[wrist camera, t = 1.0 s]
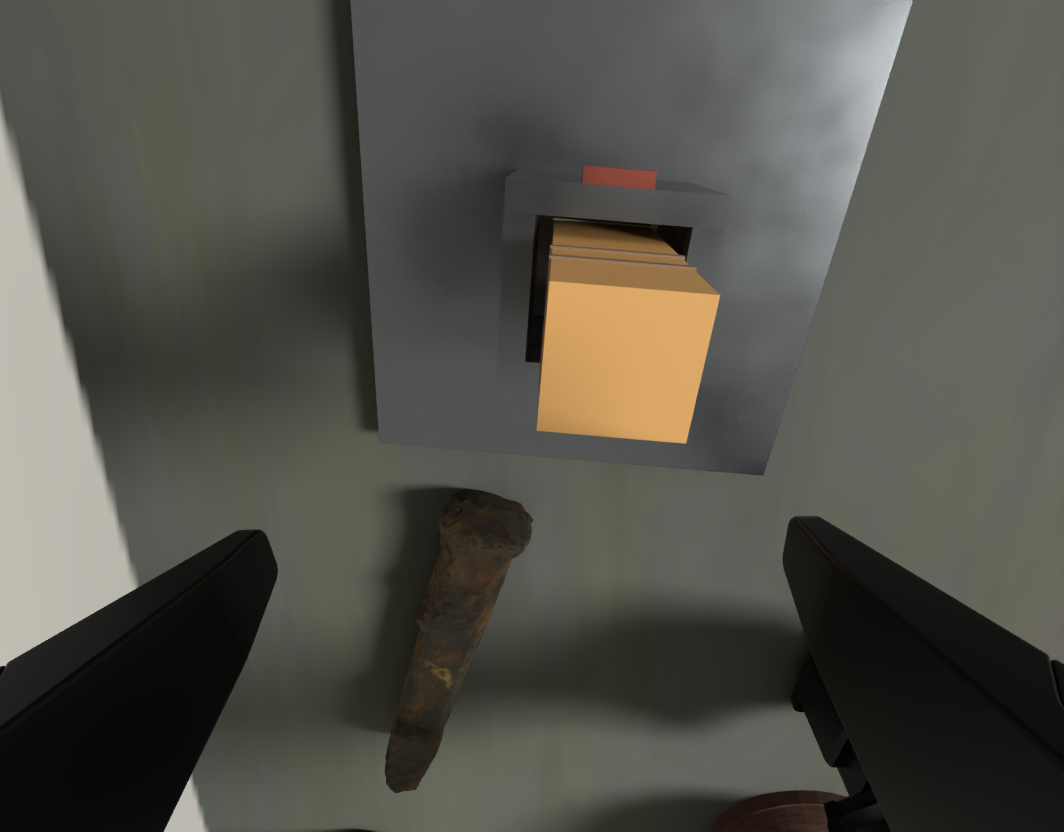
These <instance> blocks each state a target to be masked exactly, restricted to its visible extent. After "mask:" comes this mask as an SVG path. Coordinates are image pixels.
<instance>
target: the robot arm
mask: <svg viewBox="0 0 1064 832" xmlns="http://www.w3.org/2000/svg"><path fill="white" fill-rule="evenodd" d="M783 567H784V571H785V574H786V577H787V580H788V584H789V587H790V590H791V593H792V596H793V599H794V602H795V605H796V608H797V612H798V615H799V618H800V621H801V624H802V627H803V630H804V633H805V636H806V639H807V642H808V645H809V648H810V651H811V654H810V656H809V658H808V660H807V662H806V664H805V666H804V669H803V671H802V673H801V676H800V678H799V680H798V682H797V685H796V687H795V690H794V692H793V695H792V697H791V703H792V706H793V708H794V710H796V711H798V712H805V715H806V717H807V719H808V722H809V724H810V726H811V729H812V731H813V733H814V736H815V738H816V741H817V743H818V745H819V748H820V750H821V752H822V755H823V757H824V759H825V761H826V762H827V764H828V765H829V766H830V767H837V769H838V771H839V774H840V776H841V778H842V780H843V783H844V785H845V787H846V789H847V792H848V794H849V796H848V797H845V798H842V799H840V800H837V801H836V800H835V799H833V800H830V801H827V802H825V803H823V805H824V809H825V813H826V816H827V820H828V823H827V827H828V831H829V832H1064V664H1063V663H1061V662H1059V661H1058V660H1052V661H1051V658H1050V656H1049V655H1047V654H1046V653H1044V652H1042V651H1041V650H1039V649H1038V648H1036V647H1034V646H1033V645H1031V644H1029V643H1028V642H1026V641H1024V640H1023V639H1021V638H1019V637H1018V636H1016V635H1014V634H1013V633H1011V632H1009V631H1008V630H1006V629H1004V628H1003V627H1001V626H999V625H998V624H996V623H994V622H993V621H991V620H990V619H988V618H986V617H985V616H983V615H981V614H980V613H978V612H976V611H975V610H973V609H971V608H970V607H968V606H966V605H965V604H963V603H961V602H960V601H958V600H956V599H955V598H953V597H951V596H950V595H948V594H946V593H945V592H943V591H941V590H940V589H938V588H937V587H935V586H933V585H932V584H930V583H928V582H927V581H925V580H923V579H922V578H920V577H918V576H917V575H915V574H913V573H912V572H910V571H908V570H907V569H905V568H903V567H902V566H900V565H898V564H897V563H895V562H893V561H892V560H890V559H889V558H887V557H885V556H884V555H882V554H880V553H879V552H877V551H875V550H874V549H872V548H870V547H869V546H867V545H865V544H864V543H862V542H860V541H859V540H857V539H855V538H854V537H852V536H850V535H849V534H847V533H845V532H844V531H842V530H841V529H839V528H837V527H836V526H834V525H832V524H831V523H829V522H827V521H826V520H824V519H822V518H820V517H818V516H795V517H793V518H792V519H791V520H790V521H789V524H788V529H787V535H786V540H785V545H784V551H783ZM277 574H278V568H277V563H276V560H275V557H274V555H273V552H272V549H271V546H270V543H269V541H268V538H267V536H266V534H265V533H264V532H263V531H261V530H239V531H236V532H234V533H232V534H231V535H229V536H227V537H225V538H224V539H222V540H220V541H218V542H217V543H215V544H213V545H211V546H210V547H208V548H206V549H204V550H203V551H201V552H199V553H198V554H196V555H194V556H192V557H191V558H189V559H187V560H185V561H184V562H182V563H180V564H178V565H177V566H175V567H173V568H171V569H170V570H168V571H166V572H164V573H163V574H161V575H159V576H157V577H156V578H154V579H152V580H151V581H149V582H147V583H145V584H144V585H142V586H140V587H138V588H137V589H135V590H133V591H131V592H130V593H128V594H126V595H124V596H123V597H121V598H119V599H118V600H116V601H114V602H112V603H111V604H109V605H107V606H105V607H104V608H102V609H100V610H98V611H97V612H95V613H93V614H91V615H90V616H88V617H86V618H85V619H83V620H81V621H79V622H78V623H76V624H74V625H72V626H70V627H69V628H67V629H65V630H64V631H62V632H60V633H58V634H57V635H55V636H53V637H52V638H50V639H48V640H46V641H45V642H43V643H41V644H39V645H37V646H36V647H34V648H32V649H31V650H29V651H27V652H25V653H23V654H22V655H20V656H19V657H17V658H15V659H13V660H11V661H10V662H8V663H7V665H6V666H1V667H0V832H164V830H165V828H166V826H167V824H168V822H169V819H170V817H171V815H172V813H173V811H174V809H175V807H176V805H177V803H178V801H179V799H180V797H181V795H182V793H183V790H184V788H185V786H186V784H187V782H188V780H189V778H190V776H191V774H192V772H193V770H194V768H195V766H196V764H197V762H198V760H199V758H200V756H201V753H202V751H203V749H204V747H205V745H206V743H207V741H208V739H209V737H210V735H211V733H212V731H213V729H214V727H215V725H216V723H217V720H218V718H219V716H220V714H221V712H222V710H223V708H224V706H225V704H226V702H227V700H228V698H229V696H230V694H231V692H232V690H233V687H234V685H235V683H236V681H237V679H238V677H239V675H240V673H241V671H242V669H243V666H244V664H245V662H246V660H247V657H248V655H249V652H250V650H251V647H252V645H253V642H254V639H255V637H256V634H257V631H258V629H259V626H260V623H261V620H262V618H263V615H264V612H265V609H266V607H267V604H268V601H269V599H270V596H271V593H272V590H273V588H274V585H275V582H276V579H277Z"/></svg>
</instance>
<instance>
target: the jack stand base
mask: <svg viewBox="0 0 1064 832" xmlns="http://www.w3.org/2000/svg"><path fill="white" fill-rule="evenodd" d="M350 1H351V17H352V32H353V47H354V63H355V78H356V93H357V109H358V124H359V139H360V155H361V170H362V185H363V201H364V216H365V231H366V247H367V262H368V277H369V293H370V308H371V323H372V339H373V354H374V369H375V385H376V400H377V415H378V431H379V442H381V443H393V444H404V445H416V446H427V447H439V448H450V449H462V450H474V451H485V452H497V453H508V454H520V455H532V456H543V457H555V458H566V459H578V460H589V461H601V462H613V463H624V464H636V465H647V466H659V467H670V468H682V469H694V470H705V471H717V472H728V473H740V474H751V475H763V474H764V471H765V468H766V465H767V462H768V459H769V455H770V452H771V449H772V446H773V443H774V440H775V436H776V433H777V430H778V427H779V424H780V420H781V417H782V414H783V411H784V408H785V405H786V401H787V398H788V395H789V392H790V389H791V386H792V382H793V379H794V376H795V373H796V370H797V366H798V363H799V360H800V357H801V354H802V351H803V347H804V344H805V341H806V338H807V335H808V332H809V328H810V325H811V322H812V319H813V316H814V313H815V309H816V306H817V303H818V300H819V297H820V293H821V290H822V287H823V284H824V281H825V278H826V274H827V271H828V268H829V265H830V262H831V259H832V255H833V252H834V249H835V246H836V243H837V239H838V236H839V233H840V230H841V227H842V224H843V220H844V217H845V214H846V211H847V208H848V205H849V201H850V198H851V195H852V192H853V189H854V186H855V182H856V179H857V176H858V173H859V170H860V166H861V163H862V160H863V157H864V154H865V151H866V147H867V144H868V141H869V138H870V135H871V132H872V128H873V125H874V122H875V119H876V116H877V112H878V109H879V106H880V103H881V100H882V97H883V93H884V90H885V87H886V84H887V81H888V78H889V74H890V71H891V68H892V65H893V62H894V59H895V55H896V52H897V49H898V46H899V43H900V39H901V36H902V33H903V30H904V27H905V24H906V20H907V17H908V14H909V11H910V8H911V5H912V1H913V0H350ZM553 216H560V217H573V218H585V219H597V220H609V221H622V222H634V223H646V224H651V225H652V230H653V231H654V232H656V233H657V234H658V235H659V236H660V237H661V238H662V239H663V240H664V241H665V242H666V243H667V244H668V245H669V246H670V247H671V248H672V249H673V250H674V251H675V252H676V253H677V254H678V255H684V256H685V261H686V262H687V263H688V264H689V265H693V266H696V267H697V270H696V272H697V273H698V274H699V275H700V276H701V277H702V278H703V279H704V280H705V281H706V282H707V283H708V284H709V285H710V286H711V287H712V288H713V289H714V290H716V291H717V292H718V293H719V294H720V299H719V303H718V307H717V312H716V316H715V320H714V325H713V329H712V333H711V338H710V342H709V346H708V351H707V355H706V359H705V364H704V368H703V372H702V377H701V381H700V385H699V390H698V394H697V398H696V403H695V407H694V411H693V416H692V420H691V424H690V429H689V433H688V437H687V442H686V444H685V443H673V442H662V441H650V440H638V439H627V438H615V437H603V436H592V435H580V434H569V433H557V432H545V431H537V420H538V409H539V397H540V390H538V384H539V372H540V360H541V348H542V336H543V324H544V312H545V300H546V288H547V276H548V264H549V254H550V244H551V239H552V227H553Z"/></svg>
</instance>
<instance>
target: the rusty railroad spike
mask: <svg viewBox="0 0 1064 832" xmlns="http://www.w3.org/2000/svg"><path fill="white" fill-rule="evenodd" d="M532 521H533V519H532V518H531V516H530V515H529V514H528V513H527V512H526V511H525V509H524V508H523V506H522V505H521V504H520V503H518V502H515V501H511V500H508V499H504V498H502V497H500V496H498V495H495V494H491V493H487V492H482V491H474V490H462V491H458V492H456V493H454V494H453V495H452V496H451V498H450V502H449V504H447V505H446V506H445V507H444V508H443V509H442V510H441V512H440V514H439V517H438V524H437V525H438V531H439V535H440V545H441V551H440V554H439V557H438V560H437V561H436V563H435V567H434V571H433V573H432V575H431V579H430V581H429V582H428V585H427V588H426V593H425V596H424V600H423V602H422V604H421V605H420V606H419V608H418V610H417V615H416V622H417V624H418V625H419V626H420V628H419V632H418V637H417V640H416V644H415V648H414V652H413V655H412V659H411V662H410V666H409V670H408V673H407V677H406V679H405V682H404V687H403V690H402V694H401V698H400V701H399V707H398V711H397V714H396V716H395V719H394V724H393V726H392V729H391V735H390V738H389V743H388V748H387V753H386V764H385V776H386V783H387V785H388V786H389V788H390V789H391V790H392V791H393V792H395V793H399V792H402V791H410V790H416V788H417V787H418V785H419V783H420V781H421V779H422V778H423V776H424V775H425V773H426V771H427V769H428V768H429V765H430V764H431V762H432V761H433V759H434V757H435V756H436V754H437V752H438V749H439V746H440V743H441V740H442V735H443V729H444V726H445V724H446V722H447V720H448V717H449V714H450V712H451V709H452V706H453V704H454V701H455V699H456V695H457V693H458V691H459V690H460V688H461V685H462V682H463V679H464V677H465V675H466V673H467V671H468V669H469V667H470V664H471V661H472V659H473V656H474V654H475V652H476V649H477V647H478V644H479V642H480V639H481V637H482V634H483V632H484V629H485V627H486V624H487V622H488V620H489V617H490V615H491V613H492V610H493V607H494V605H495V602H496V600H497V597H498V595H499V592H500V590H501V587H502V585H503V582H504V580H505V575H506V573H507V570H508V567H509V565H510V562H511V560H512V558H514V557H517V556H519V555H520V553H521V552H523V551H524V549H525V547H526V546H527V545H528V544H529V542H530V538H531V533H532V528H531V523H532Z"/></svg>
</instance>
